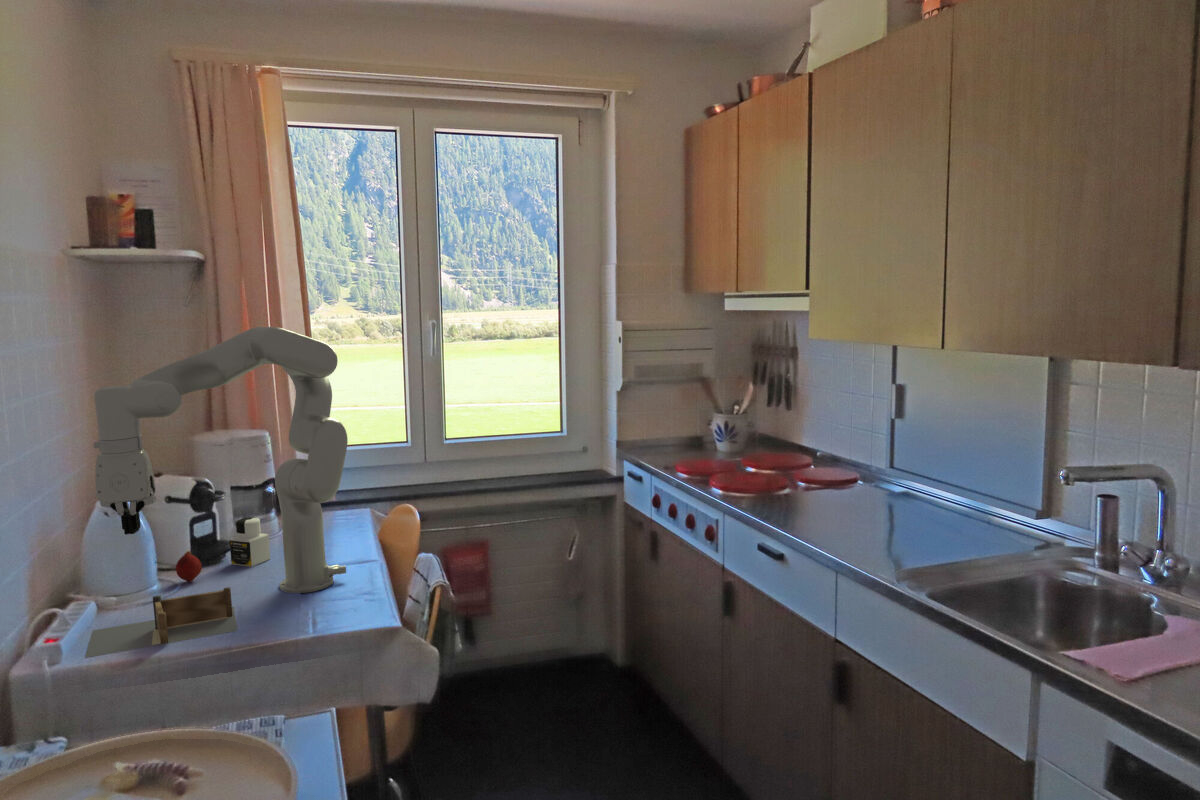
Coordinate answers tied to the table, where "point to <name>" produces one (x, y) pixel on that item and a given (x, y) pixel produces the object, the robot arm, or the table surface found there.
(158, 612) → the fence gate
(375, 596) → the table surface
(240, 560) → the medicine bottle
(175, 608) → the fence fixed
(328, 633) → the table surface
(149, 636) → the card
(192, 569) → the onion
